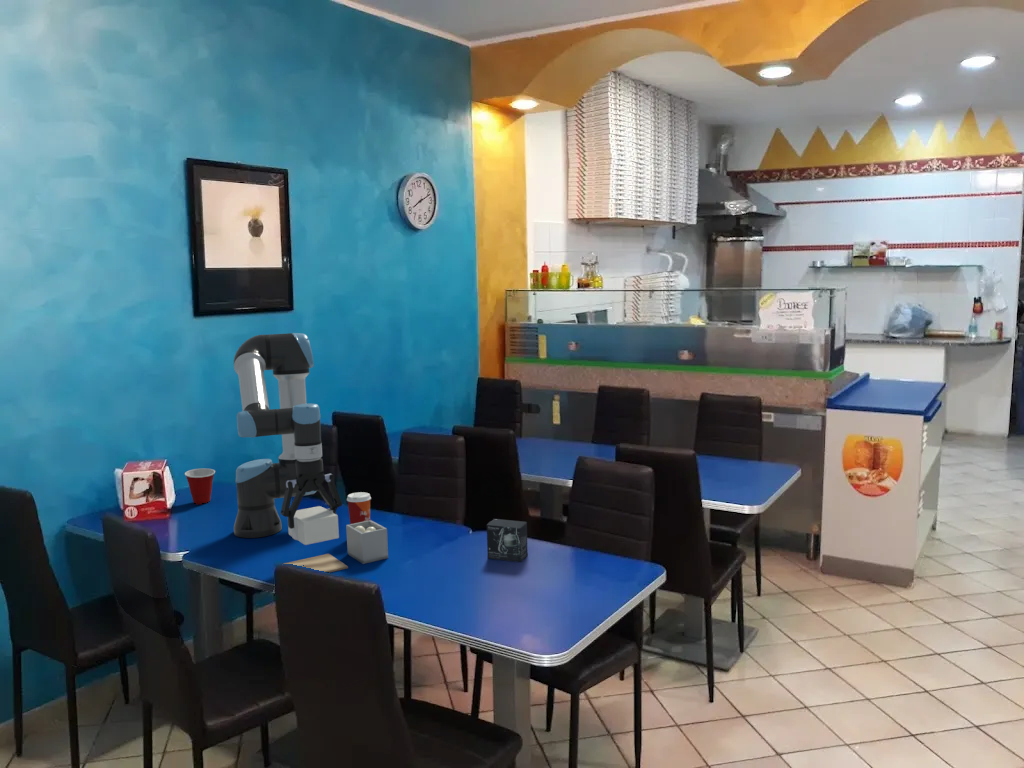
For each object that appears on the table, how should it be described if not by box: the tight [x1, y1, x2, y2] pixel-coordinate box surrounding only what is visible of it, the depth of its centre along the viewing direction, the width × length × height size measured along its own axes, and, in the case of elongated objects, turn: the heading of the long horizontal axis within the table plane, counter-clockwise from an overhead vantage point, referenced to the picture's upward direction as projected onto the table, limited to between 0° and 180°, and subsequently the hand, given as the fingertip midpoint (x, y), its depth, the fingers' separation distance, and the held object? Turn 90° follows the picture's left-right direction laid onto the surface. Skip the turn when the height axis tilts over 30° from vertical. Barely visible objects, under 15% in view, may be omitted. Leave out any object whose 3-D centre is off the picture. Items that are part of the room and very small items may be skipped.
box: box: [486, 518, 529, 563], centre depth 242 cm, size 11×7×10 cm, turn 68°
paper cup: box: [346, 491, 372, 524], centre depth 264 cm, size 8×8×14 cm
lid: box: [287, 505, 340, 546], centre depth 237 cm, size 13×10×7 cm
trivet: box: [283, 553, 349, 574], centre depth 239 cm, size 14×14×1 cm
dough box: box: [345, 519, 389, 565], centre depth 246 cm, size 11×8×9 cm
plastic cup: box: [184, 468, 216, 505], centre depth 311 cm, size 11×11×12 cm
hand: (313, 535), depth 237 cm, fingers closed on lid, 10 cm apart
